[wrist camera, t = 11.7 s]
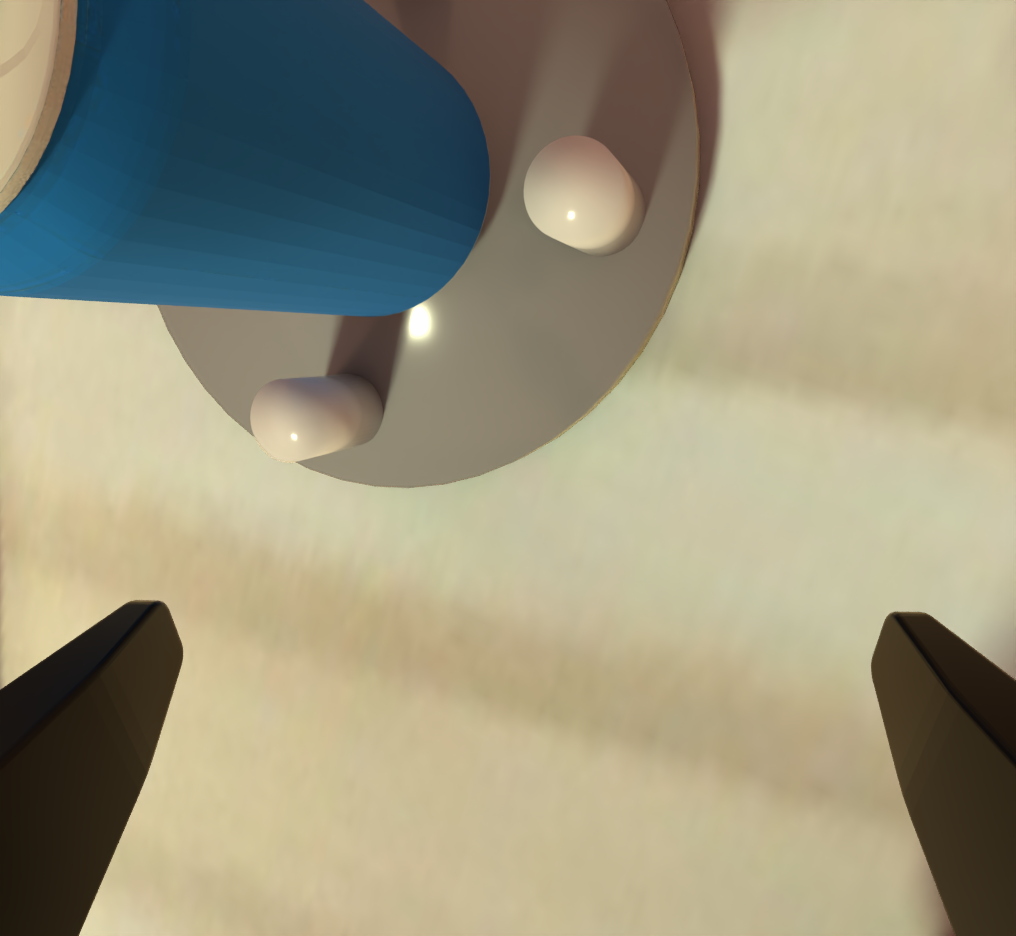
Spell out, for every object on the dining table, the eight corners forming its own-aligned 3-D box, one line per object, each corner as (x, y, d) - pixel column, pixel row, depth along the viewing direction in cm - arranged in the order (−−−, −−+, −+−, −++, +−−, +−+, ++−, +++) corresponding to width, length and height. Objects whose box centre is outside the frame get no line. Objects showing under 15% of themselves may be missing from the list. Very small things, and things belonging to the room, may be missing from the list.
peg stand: (836, 250, 17) (855, 223, 14) (350, 577, 23) (264, 625, 19) (461, -299, 18) (376, -473, 14) (79, 148, 24) (-56, 111, 20)
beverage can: (271, 68, 20) (-361, -276, 9) (502, 40, 18) (60, -458, 7) (281, 317, 21) (-269, 292, 10) (500, 317, 19) (118, 286, 8)
